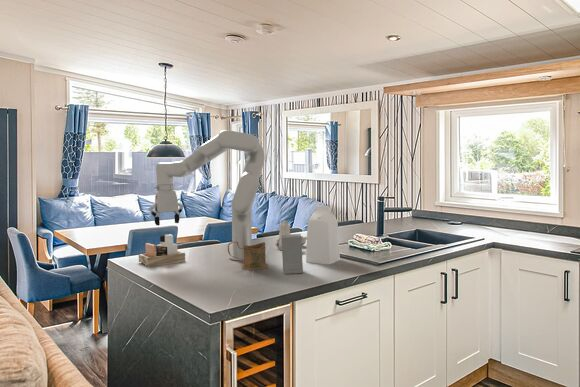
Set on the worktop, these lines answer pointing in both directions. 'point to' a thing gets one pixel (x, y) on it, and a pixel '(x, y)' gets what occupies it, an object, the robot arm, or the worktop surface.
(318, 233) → the milk
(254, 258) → the mug
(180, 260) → the wooden tray
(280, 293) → the worktop surface
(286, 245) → the skincare box
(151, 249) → the pusher plate
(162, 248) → the medicine bottle
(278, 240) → the chinaware
